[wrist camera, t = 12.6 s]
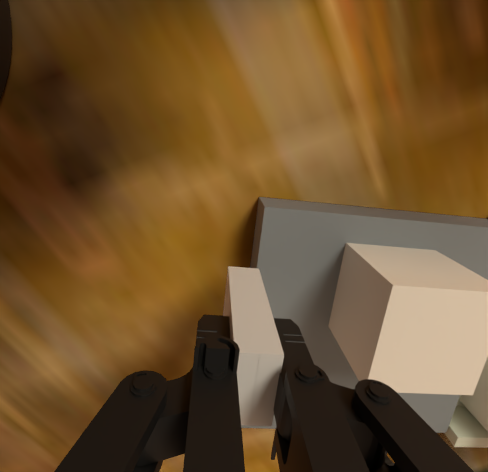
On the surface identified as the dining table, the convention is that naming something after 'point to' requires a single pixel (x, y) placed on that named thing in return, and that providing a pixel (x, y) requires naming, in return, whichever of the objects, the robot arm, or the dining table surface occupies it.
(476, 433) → the tray
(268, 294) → the board
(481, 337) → the block
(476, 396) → the block
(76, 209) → the dining table surface
